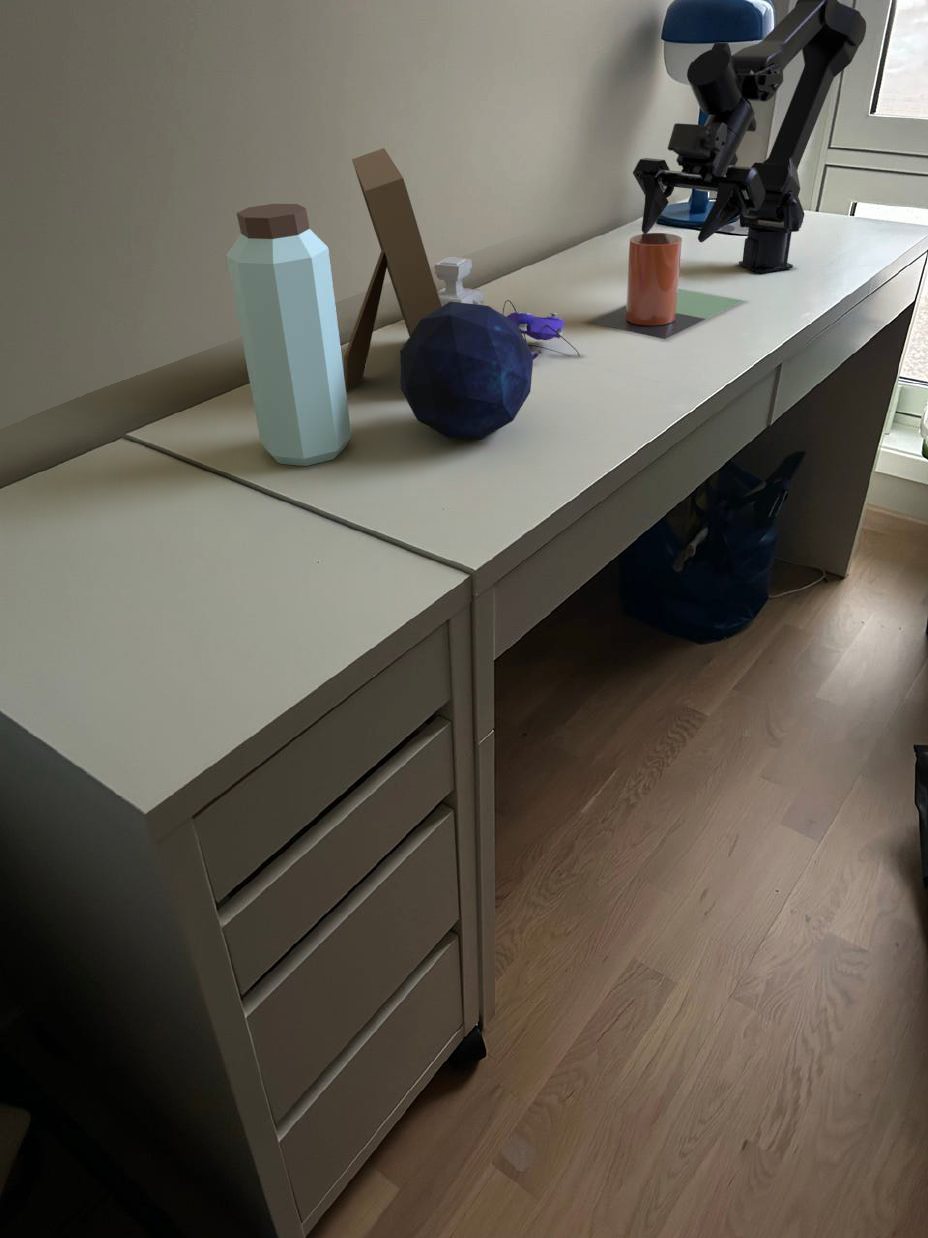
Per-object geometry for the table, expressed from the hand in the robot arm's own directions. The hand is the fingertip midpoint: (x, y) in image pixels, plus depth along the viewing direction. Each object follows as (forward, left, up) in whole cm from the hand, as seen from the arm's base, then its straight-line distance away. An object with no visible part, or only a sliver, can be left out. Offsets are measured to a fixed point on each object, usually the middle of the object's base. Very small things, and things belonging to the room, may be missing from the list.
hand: (671, 236), depth 133 cm
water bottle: (+59, +25, -11) cm, 65 cm away
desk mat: (0, 0, -11) cm, 11 cm away
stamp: (+29, -12, -11) cm, 33 cm away
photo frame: (+43, +5, -11) cm, 44 cm away
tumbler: (+3, +2, -11) cm, 11 cm away
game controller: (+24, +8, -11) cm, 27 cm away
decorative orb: (+41, +28, -11) cm, 51 cm away
